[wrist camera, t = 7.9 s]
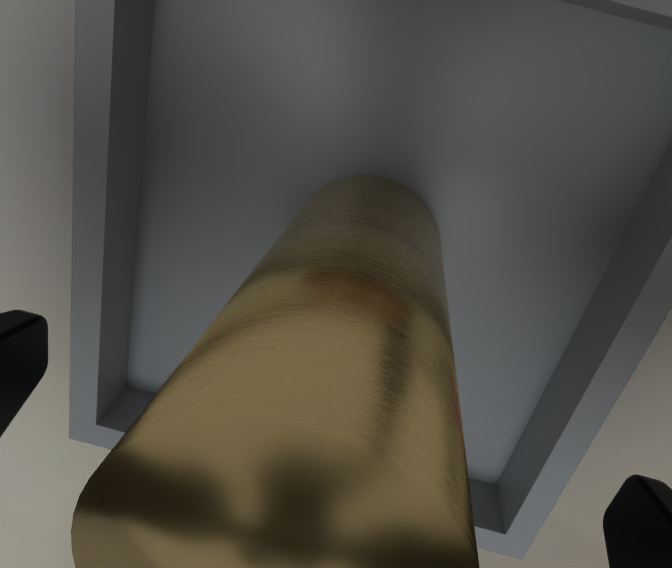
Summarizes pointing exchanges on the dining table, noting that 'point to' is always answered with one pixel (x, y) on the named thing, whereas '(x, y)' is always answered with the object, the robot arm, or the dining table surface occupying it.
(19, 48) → the dining table surface
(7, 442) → the dining table surface
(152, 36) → the tray
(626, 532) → the robot arm
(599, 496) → the dining table surface
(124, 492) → the pin
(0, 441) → the dining table surface
